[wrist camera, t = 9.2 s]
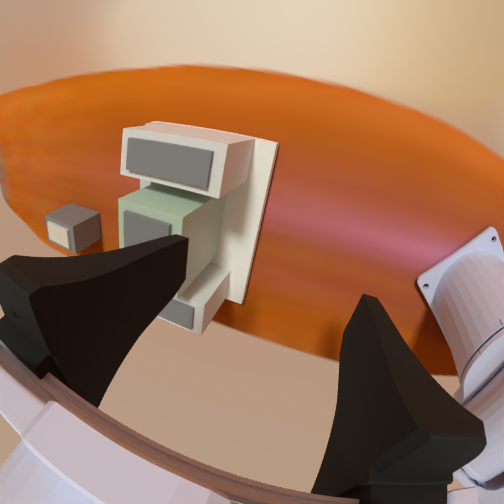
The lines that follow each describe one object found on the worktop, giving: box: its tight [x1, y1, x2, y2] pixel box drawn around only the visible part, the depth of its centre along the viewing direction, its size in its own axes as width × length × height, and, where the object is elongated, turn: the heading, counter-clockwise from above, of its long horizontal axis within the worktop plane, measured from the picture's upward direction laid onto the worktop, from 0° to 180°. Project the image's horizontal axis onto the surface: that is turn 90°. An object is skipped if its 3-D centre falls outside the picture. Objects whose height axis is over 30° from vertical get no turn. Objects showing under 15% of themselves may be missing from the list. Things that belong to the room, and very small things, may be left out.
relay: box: [45, 203, 101, 254], centre depth 25 cm, size 5×3×4 cm, turn 79°
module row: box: [120, 121, 279, 335], centre depth 20 cm, size 10×14×6 cm
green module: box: [119, 183, 227, 299], centre depth 19 cm, size 4×6×7 cm
